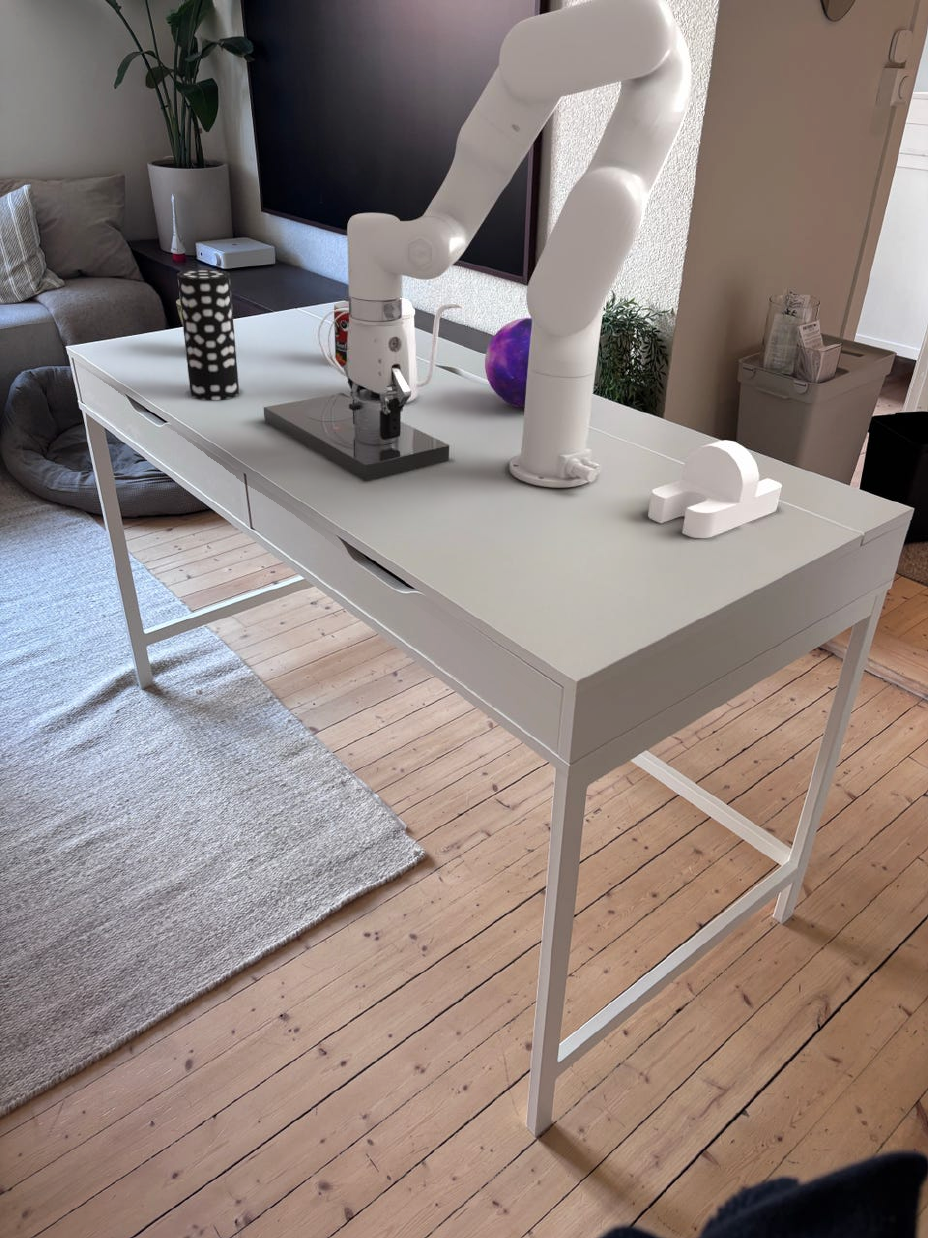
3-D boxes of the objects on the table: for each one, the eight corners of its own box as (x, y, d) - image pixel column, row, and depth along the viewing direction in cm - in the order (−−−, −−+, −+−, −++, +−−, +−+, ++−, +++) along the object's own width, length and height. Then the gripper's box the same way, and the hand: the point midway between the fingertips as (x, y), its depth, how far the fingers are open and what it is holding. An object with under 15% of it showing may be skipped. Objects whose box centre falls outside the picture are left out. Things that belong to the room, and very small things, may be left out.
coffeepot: (456, 412, 161) (461, 299, 151) (314, 401, 163) (309, 289, 153) (462, 393, 170) (467, 286, 161) (327, 383, 172) (324, 276, 162)
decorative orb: (494, 388, 174) (499, 305, 166) (574, 398, 171) (582, 314, 163) (473, 412, 161) (477, 323, 154) (558, 423, 158) (566, 333, 150)
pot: (413, 438, 142) (413, 391, 138) (364, 449, 137) (363, 401, 133) (388, 425, 146) (388, 380, 142) (339, 436, 141) (338, 389, 137)
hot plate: (449, 460, 141) (449, 444, 140) (366, 481, 133) (365, 464, 132) (342, 406, 161) (342, 392, 160) (264, 421, 153) (263, 406, 151)
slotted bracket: (700, 541, 120) (714, 469, 115) (643, 515, 127) (654, 446, 122) (780, 509, 131) (796, 442, 126) (724, 486, 137) (737, 421, 132)
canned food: (330, 358, 186) (328, 301, 181) (368, 355, 189) (367, 299, 184) (342, 369, 180) (341, 310, 175) (381, 365, 183) (381, 308, 178)
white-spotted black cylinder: (191, 401, 160) (177, 279, 150) (189, 386, 167) (177, 269, 157) (240, 399, 162) (230, 278, 152) (237, 384, 169) (227, 268, 159)
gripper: (433, 318, 128) (430, 443, 137) (363, 294, 139) (365, 410, 149) (388, 325, 124) (388, 452, 133) (320, 299, 135) (324, 418, 144)
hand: (376, 429), depth 141 cm, fingers closed on pot, 6 cm apart
